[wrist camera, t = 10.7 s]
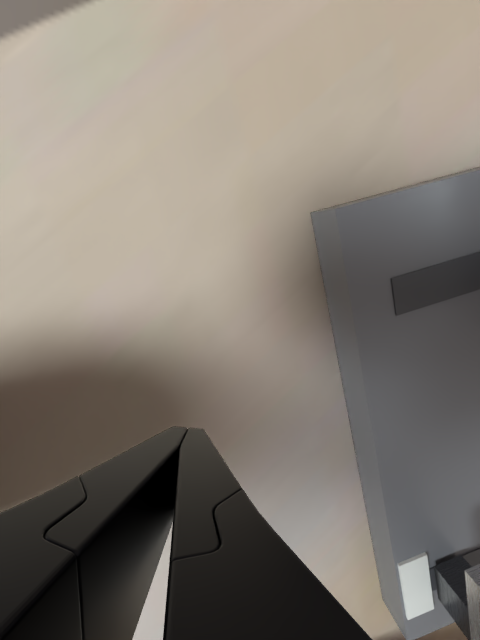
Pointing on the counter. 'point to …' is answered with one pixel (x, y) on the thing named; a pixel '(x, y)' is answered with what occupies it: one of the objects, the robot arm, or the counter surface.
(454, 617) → the switch
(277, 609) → the robot arm
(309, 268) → the counter surface
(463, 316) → the switch panel
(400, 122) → the counter surface
